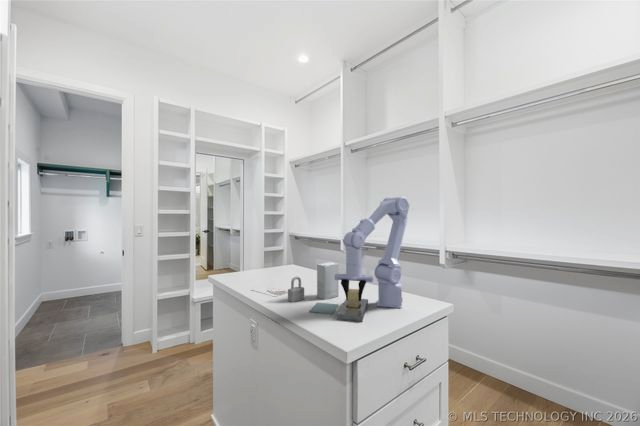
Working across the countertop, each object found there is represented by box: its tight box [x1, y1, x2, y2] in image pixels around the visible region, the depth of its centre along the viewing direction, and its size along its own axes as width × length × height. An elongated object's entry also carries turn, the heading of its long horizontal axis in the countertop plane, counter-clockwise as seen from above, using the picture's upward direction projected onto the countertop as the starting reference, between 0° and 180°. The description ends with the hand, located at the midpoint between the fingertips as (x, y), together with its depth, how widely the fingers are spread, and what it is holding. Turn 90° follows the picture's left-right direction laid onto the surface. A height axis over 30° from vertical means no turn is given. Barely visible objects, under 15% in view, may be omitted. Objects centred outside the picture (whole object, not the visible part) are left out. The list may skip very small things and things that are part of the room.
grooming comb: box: [267, 290, 288, 296], centre depth 136 cm, size 18×10×1 cm, turn 51°
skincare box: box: [316, 261, 339, 301], centre depth 127 cm, size 8×6×15 cm
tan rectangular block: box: [348, 288, 360, 309], centre depth 108 cm, size 4×4×7 cm
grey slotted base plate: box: [336, 298, 369, 323], centre depth 108 cm, size 9×20×2 cm, turn 165°
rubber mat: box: [308, 302, 339, 315], centre depth 111 cm, size 9×11×1 cm
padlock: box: [287, 276, 305, 303], centre depth 122 cm, size 7×4×10 cm, turn 137°
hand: (353, 299), depth 108 cm, fingers closed on tan rectangular block, 4 cm apart
